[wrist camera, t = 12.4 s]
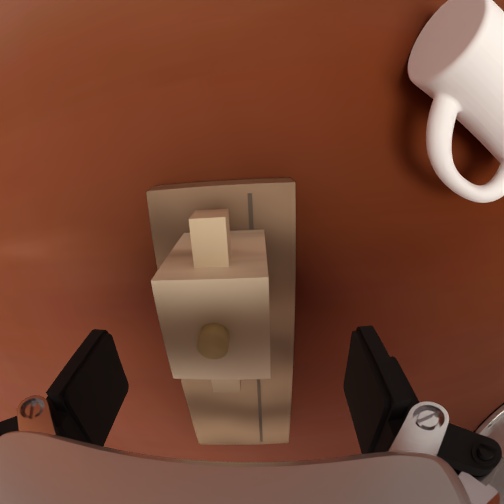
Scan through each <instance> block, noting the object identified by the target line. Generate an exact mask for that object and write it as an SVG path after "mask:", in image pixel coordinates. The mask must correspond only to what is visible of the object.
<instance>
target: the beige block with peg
mask: <svg viewBox="0 0 504 504" xmlns="http://www.w3.org/2000/svg"><path fill="white" fill-rule="evenodd" d="M189 227H190V233H183V235H182V236H181V238H180V239H179V241H178V242H177V243H176V245H175V246H174V248H173V249H172V250H171V252H170V253H169V255H168V256H167V258H166V259H165V261H164V262H163V263H162V265H161V266H160V268H159V269H158V271H157V272H156V274H155V275H154V277H153V278H152V280H151V284H152V289H153V295H154V299H155V304H156V309H157V314H158V318H159V323H160V327H161V331H162V336H163V340H164V344H165V348H166V352H167V356H168V360H169V364H170V368H171V371H172V375H173V378H176V379H206V380H211V382H212V387H213V392H241V380H245V379H271V372H270V316H269V277H268V266H267V255H266V244H265V234H264V229H263V230H238V231H230V224H229V209H214V210H197V211H195V212H194V213H193V214H192V215H191V217H190V218H189Z"/></svg>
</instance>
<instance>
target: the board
mask: <svg viewBox="0 0 504 504" xmlns="http://www.w3.org/2000/svg"><path fill="white" fill-rule="evenodd" d="M146 193H147V202H148V210H149V218H150V225H151V232H152V239H153V246H154V252H155V258H156V265H157V270H158V269H159V268H160V266H161V265H162V263H163V262H164V261H165V259H166V258H167V256H168V255H169V253H170V252H171V250H172V249H173V248H174V246H175V245H176V243H177V242H178V241H179V239H180V238H181V236H182V235H183V233H190V227H189V218H190V217H191V215H192V214H193V213H194V212H195V211H197V210H214V209H229V224H230V231H238V230H263V229H264V234H265V244H266V255H267V266H268V277H269V316H270V372H271V379H245V380H241V392H213V387H212V382H211V380H206V379H181V382H182V386H183V390H184V394H185V397H186V401H187V405H188V408H189V412H190V415H191V419H192V422H193V425H194V429H195V432H196V435H197V439H198V442H199V444H211V445H252V444H275V443H289V429H290V413H291V396H292V377H293V354H294V325H295V278H296V197H295V182H294V181H293V180H292V179H291V178H262V179H240V180H222V181H207V182H193V183H181V184H170V185H159V186H155V187H153V188H152V189H150V190H148V191H146Z"/></svg>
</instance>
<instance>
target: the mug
mask: <svg viewBox="0 0 504 504" xmlns="http://www.w3.org/2000/svg"><path fill="white" fill-rule="evenodd" d="M408 75H409V78H410V80H411V81H412V83H414V84H415V85H416V86H417V87H419V88H420V89H421V90H422V91H424V92H425V93H426V94H428V95H429V96H430V97H431V98H432V99H433V102H432V105H431V108H430V112H429V116H428V121H427V128H426V147H427V153H428V157H429V160H430V163H431V165H432V167H433V169H434V171H435V173H436V174H437V176H438V177H439V178H440V179H441V181H442V182H443V183H444V184H445V185H446V186H447V187H448V188H450V189H451V190H452V191H453V192H455V193H456V194H458V195H460V196H461V197H463V198H465V199H468V200H470V201H474V202H480V203H487V202H492V201H495V200H497V199H499V198H501V197H502V196H504V12H503V11H502V10H501V9H500V8H499V7H498V6H497V4H496V3H495V2H494V1H493V0H448V1H447V2H446V3H445V4H443V5H442V6H441V7H440V8H439V9H438V10H437V11H436V12H435V13H434V15H433V16H432V17H431V18H430V19H429V21H428V22H427V23H426V25H425V26H424V28H423V29H422V31H421V32H420V34H419V36H418V38H417V40H416V42H415V44H414V46H413V48H412V51H411V54H410V57H409V61H408ZM456 119H457V120H458V121H459V122H460V123H461V124H462V125H463V126H464V127H465V128H466V129H468V130H469V131H470V132H471V133H472V134H473V135H474V136H475V137H476V138H477V139H478V140H479V141H480V142H481V143H482V144H483V145H484V146H485V147H486V148H487V149H488V151H489V152H490V153H491V154H492V155H493V156H494V157H495V158H496V159H497V160H498V161H499V162H500V166H499V168H498V170H497V172H496V174H495V175H494V177H493V178H492V179H491V180H490V181H489V182H488V183H487V184H485V185H481V186H478V185H474V184H472V183H470V182H469V181H467V180H466V179H465V178H463V177H462V176H461V175H460V174H459V172H458V171H457V169H456V168H455V165H454V162H453V159H452V150H451V144H452V134H453V129H454V124H455V120H456Z"/></svg>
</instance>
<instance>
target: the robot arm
mask: <svg viewBox="0 0 504 504" xmlns="http://www.w3.org/2000/svg"><path fill="white" fill-rule="evenodd" d="M128 387H129V386H128V381H127V379H126V376H125V373H124V370H123V367H122V365H121V362H120V359H119V356H118V353H117V350H116V347H115V344H114V340H113V337H112V335H111V334H109V333H108V332H107V331H106V330H97V329H94V330H92V331H91V332H90V334H89V335H88V336H87V338H86V339H85V340H84V342H83V343H82V344H81V345H80V347H79V348H78V349H77V351H76V352H75V353H74V355H73V356H72V357H71V359H70V360H69V361H68V363H67V364H66V366H65V367H64V368H63V370H62V371H61V372H60V374H59V375H58V377H57V378H56V379H55V381H54V382H53V384H52V385H51V386H50V388H49V389H48V391H47V392H46V393H47V395H48V397H47V398H46V399H45V398H44V397H42V396H37V395H34V396H30V397H27V398H25V399H24V400H23V401H22V402H21V403H20V404H19V406H18V408H17V416H15V417H13V418H10V419H7V420H4V421H2V422H0V504H504V405H503V406H501V407H500V408H499V409H498V410H496V411H495V412H494V413H493V414H492V415H491V416H490V417H489V418H488V419H487V420H486V421H485V422H484V423H483V424H482V425H481V426H480V427H479V428H478V429H477V430H476V432H472V431H469V430H466V429H463V428H461V427H458V426H455V425H453V424H450V423H449V416H448V413H447V411H446V410H445V409H444V408H443V407H442V406H441V405H439V404H437V403H434V402H421V403H419V401H418V399H417V397H416V395H415V393H414V391H413V389H412V387H411V385H410V383H409V382H408V380H407V378H406V376H405V374H404V372H403V370H402V369H401V367H400V365H399V363H398V361H397V360H396V358H395V357H390V356H389V355H388V353H387V351H386V349H385V347H384V345H383V343H382V342H381V340H380V338H379V336H378V334H377V333H376V331H375V329H374V327H373V326H363V327H358V328H357V330H356V331H353V332H352V336H351V343H350V349H349V356H348V362H347V368H346V373H345V379H344V392H345V396H346V399H347V402H348V406H349V409H350V413H351V416H352V420H353V423H354V427H355V430H356V434H357V438H358V441H359V445H360V448H361V452H362V454H360V455H351V456H343V457H335V458H325V459H314V460H302V461H286V462H215V461H199V460H187V459H177V458H168V457H160V456H153V455H146V454H140V453H134V452H128V451H122V450H117V449H112V448H108V447H103V446H104V443H105V441H106V439H107V436H108V434H109V432H110V429H111V427H112V425H113V423H114V420H115V418H116V416H117V414H118V411H119V409H120V407H121V405H122V403H123V401H124V398H125V396H126V394H127V392H128Z"/></svg>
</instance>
